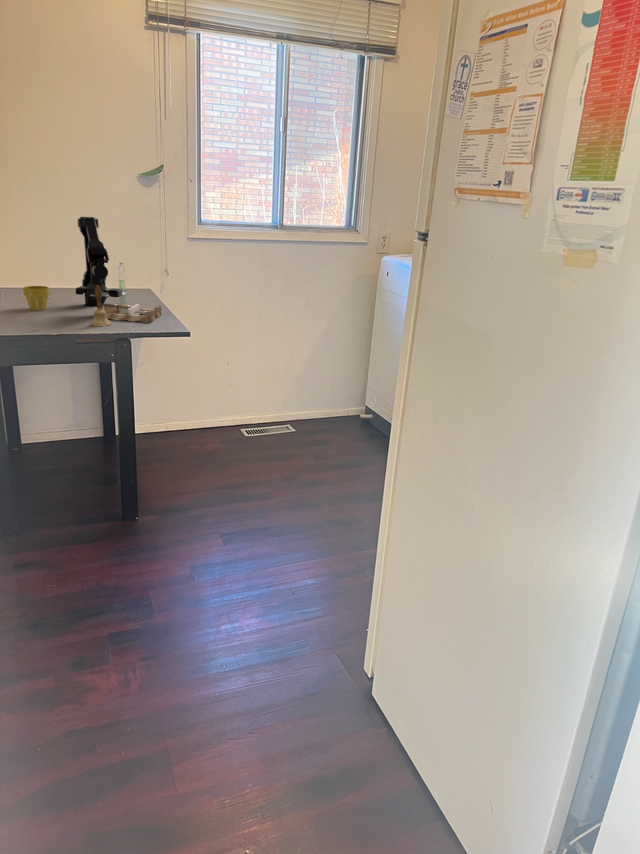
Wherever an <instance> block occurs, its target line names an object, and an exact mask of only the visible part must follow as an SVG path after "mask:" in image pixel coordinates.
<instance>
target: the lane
mask: <svg viewBox="0 0 640 854" xmlns="http://www.w3.org/2000/svg"><path fill="white" fill-rule="evenodd" d="M140 311H148V312H147V314H143V313H140V314H139V315H126V314H112V313H106V316H107V319H117V320H116V321H121V320H128V321H127V322H135V321H142V322H141V323H150V322H151V323H152V322H154V321H155V320H156V318H155V317H158V318H160V317H161V316H162V305H161V304H157V306H154V308H153V309H152V308H141V307H140ZM141 314H143V315H141ZM159 316H160V317H159Z"/></svg>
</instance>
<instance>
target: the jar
mask: <svg viewBox="0 0 640 854" xmlns="http://www.w3.org/2000/svg"><path fill="white" fill-rule="evenodd" d="M118 305H119V303H116V302H115V303H114V302H109V303H108V302H105V303H104V305H103V308H104V311H105V312H106V313H112V314H119V311H118Z"/></svg>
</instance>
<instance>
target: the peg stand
mask: <svg viewBox="0 0 640 854" xmlns="http://www.w3.org/2000/svg"><path fill="white" fill-rule="evenodd" d="M140 306H141V305H140V304H139V303H136V304H134V305H133V307H131V308H129V309H128V315H141V314H140V313H143V314H147V312H148V311H140V308H141V307H140Z"/></svg>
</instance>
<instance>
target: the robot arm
mask: <svg viewBox="0 0 640 854" xmlns="http://www.w3.org/2000/svg"><path fill="white" fill-rule="evenodd" d="M77 227H78V229H79V232H80V234H81V235H82V236H83V243H84V244H83V245H84V255H85V271H84V272H83V277H82V280H81V285H80V286H77V287H76V288H75V295H78V296H80V295H84V301H85V303H84V304H83V305H84V306H88V307H96V308H98V307H97V299H96V297H95V289H96V285H99V286H100V289H101V292H102V298H101V306H102V309H103V308H104V304H106V300H107V298H109V297H111V298H119V297H122V296H123V290H122V289H121V288H111V289H107V288H108V287H107V286H106V281H107V277H108V276H109V270H108V268H107V267H106V266H105V264H108V263H109V261H110V259H109V253H108V250H107V248H105V246H104V243H103V242H102V241H100V237H99V233H98V229H99V227H100V226H99V219H98V218H96V217H93V216H80V217H79V218H77Z"/></svg>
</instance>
